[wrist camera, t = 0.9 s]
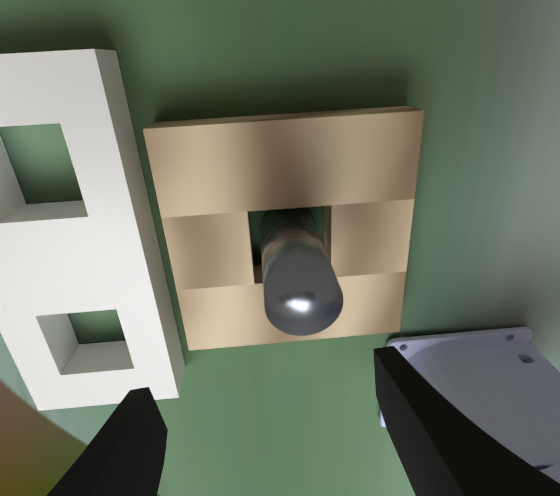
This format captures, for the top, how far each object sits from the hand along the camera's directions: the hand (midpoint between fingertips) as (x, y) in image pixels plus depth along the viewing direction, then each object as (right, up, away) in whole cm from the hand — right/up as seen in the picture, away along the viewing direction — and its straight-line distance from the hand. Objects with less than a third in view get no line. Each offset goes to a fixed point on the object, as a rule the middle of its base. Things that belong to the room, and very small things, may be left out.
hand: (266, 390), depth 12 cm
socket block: (+1, +5, +8) cm, 10 cm away
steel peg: (+1, +5, +8) cm, 10 cm away
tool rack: (-10, +5, +8) cm, 14 cm away
